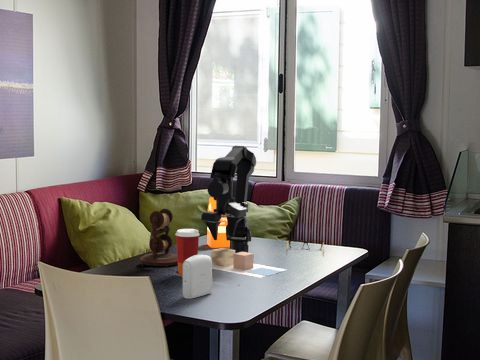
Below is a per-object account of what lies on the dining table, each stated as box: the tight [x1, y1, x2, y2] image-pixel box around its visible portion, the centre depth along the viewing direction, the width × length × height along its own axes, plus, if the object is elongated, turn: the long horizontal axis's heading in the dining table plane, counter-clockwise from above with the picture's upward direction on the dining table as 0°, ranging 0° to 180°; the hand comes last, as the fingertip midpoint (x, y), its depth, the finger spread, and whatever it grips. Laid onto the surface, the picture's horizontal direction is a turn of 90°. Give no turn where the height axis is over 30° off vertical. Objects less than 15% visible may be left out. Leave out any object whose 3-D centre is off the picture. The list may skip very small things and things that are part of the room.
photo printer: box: [182, 254, 213, 300], centre depth 227 cm, size 10×4×12 cm, turn 140°
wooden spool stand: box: [139, 208, 178, 268], centre depth 267 cm, size 15×15×20 cm
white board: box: [212, 263, 287, 279], centre depth 261 cm, size 26×16×1 cm, turn 52°
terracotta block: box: [233, 252, 255, 270], centre depth 261 cm, size 5×5×5 cm
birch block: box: [210, 247, 235, 267], centre depth 267 cm, size 6×6×5 cm
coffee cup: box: [174, 228, 201, 277], centre depth 254 cm, size 8×8×15 cm
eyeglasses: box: [286, 239, 325, 257], centre depth 296 cm, size 14×14×4 cm
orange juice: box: [206, 196, 230, 249], centre depth 305 cm, size 8×9×20 cm
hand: (223, 238), depth 266 cm, fingers open, 9 cm apart
